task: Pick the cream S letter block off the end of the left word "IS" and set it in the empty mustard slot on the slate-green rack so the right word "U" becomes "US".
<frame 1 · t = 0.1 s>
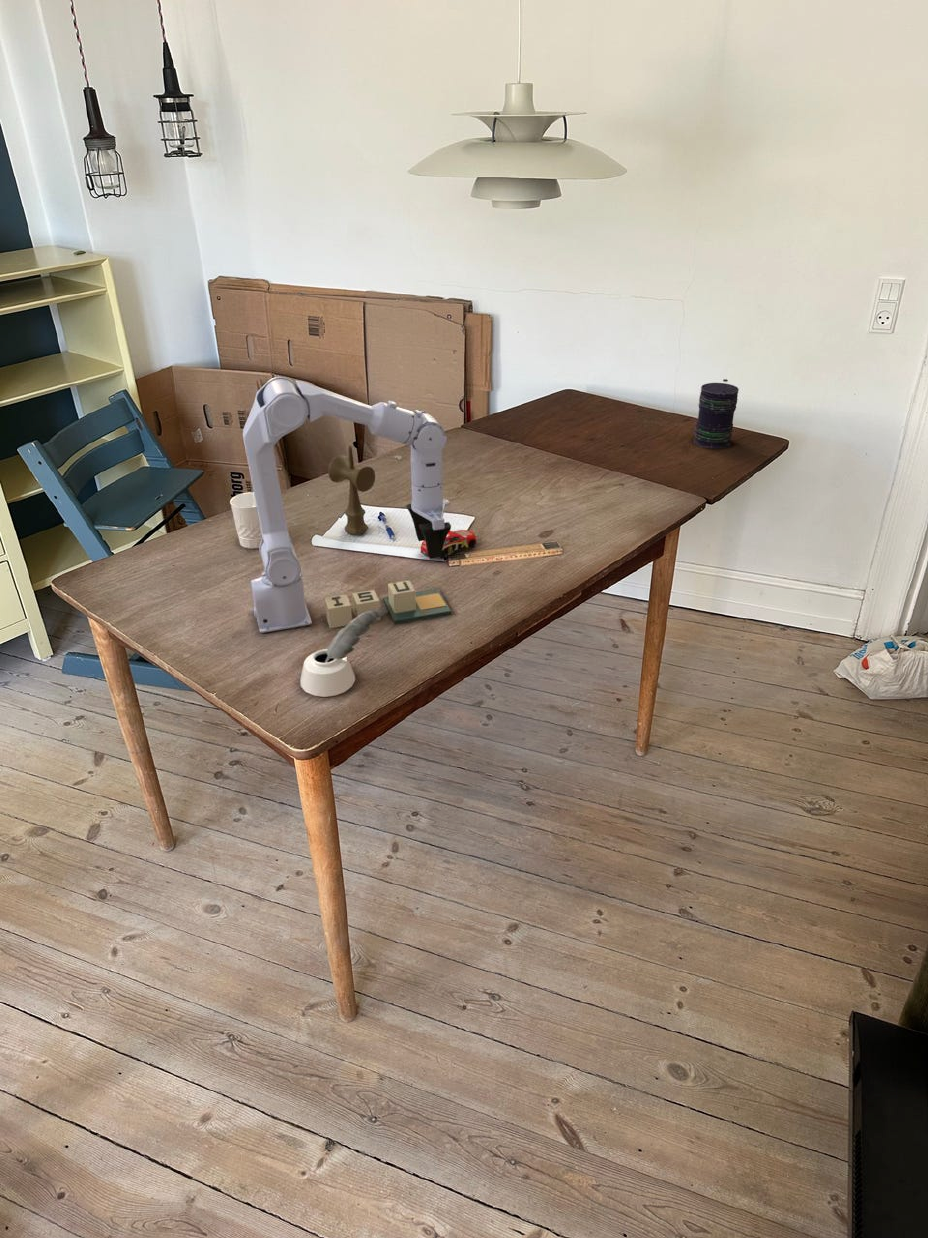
hand: (429, 548, 167), 10 cm above the table, tool pointing down, fingers open, 7 cm apart
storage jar: (711, 442, 242), on the table
inkwell: (348, 671, 151), on the table
S block: (367, 616, 166), on the table
word rack: (416, 607, 168), on the table
I block: (339, 620, 164), on the table
U block: (402, 606, 167), point 1 cm above the table, touching word rack
race car: (449, 550, 189), on the table
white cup: (255, 542, 192), on the table
kendama: (356, 532, 196), on the table
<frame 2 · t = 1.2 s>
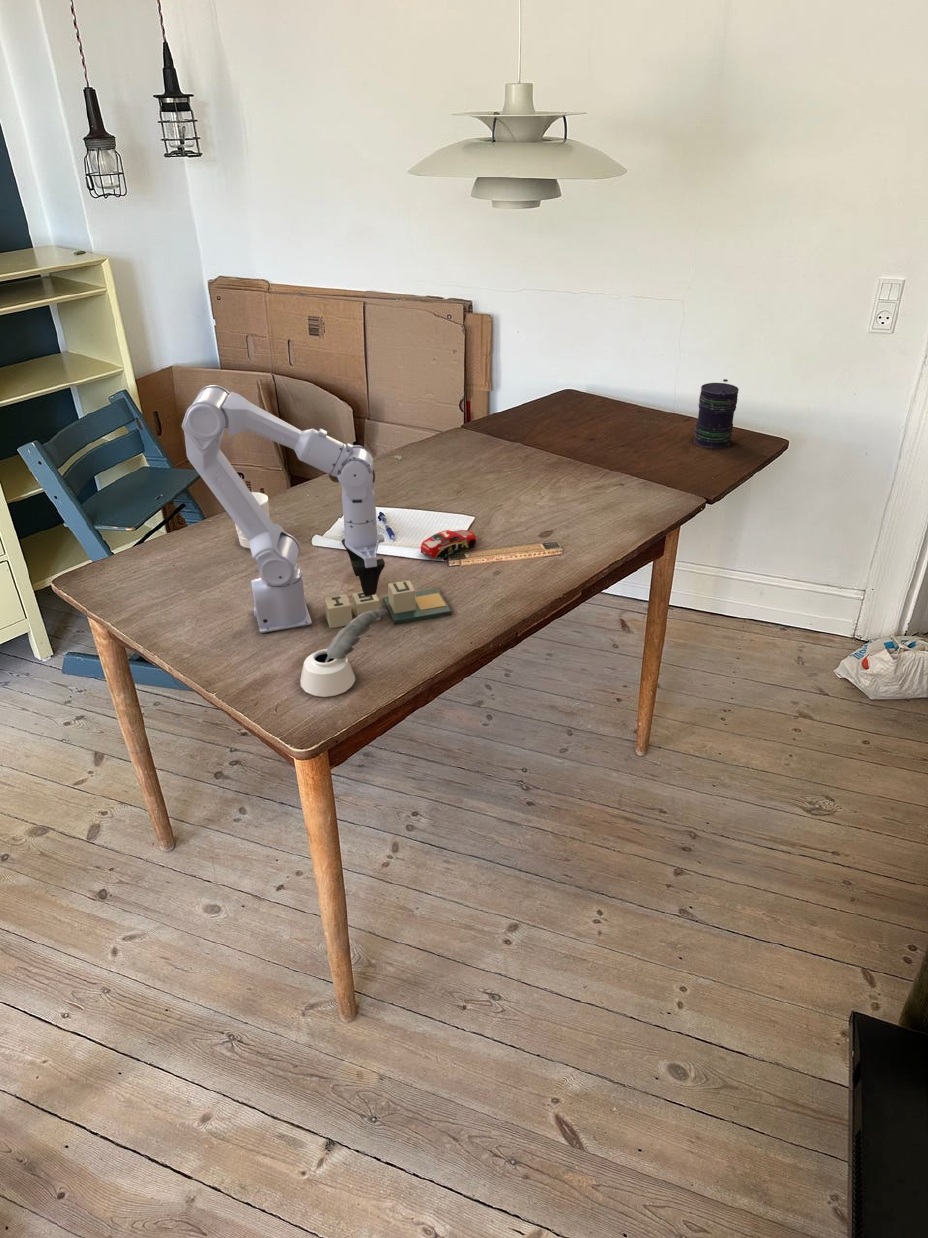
hand: (365, 584, 162), 7 cm above the table, tool pointing down, fingers open, 7 cm apart
nothing on the table moved.
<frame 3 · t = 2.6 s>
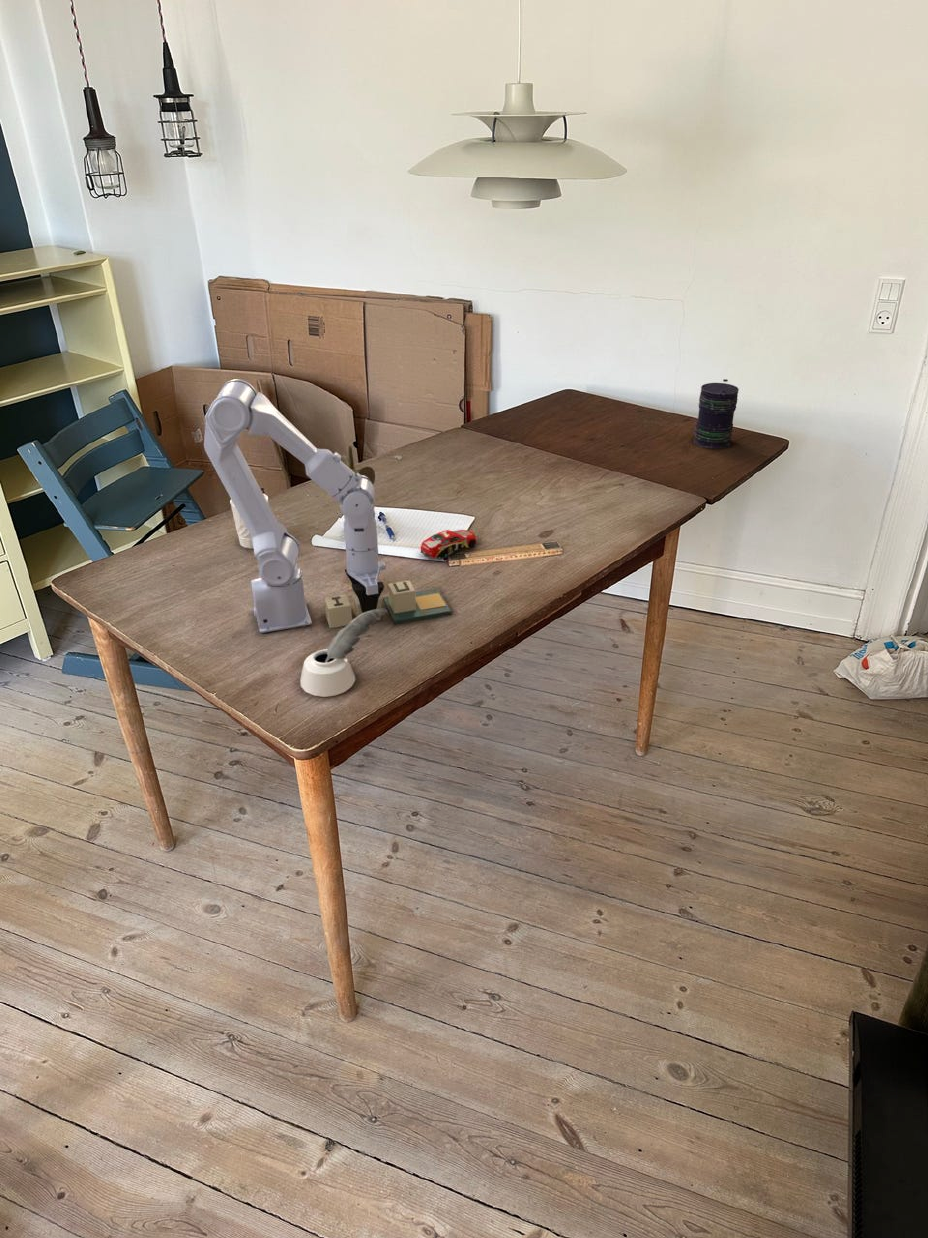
hand: (366, 609, 165), 1 cm above the table, tool pointing down, fingers closed on S block, 4 cm apart
S block: (367, 616, 166), on the table, touching gripper
everything else where it was.
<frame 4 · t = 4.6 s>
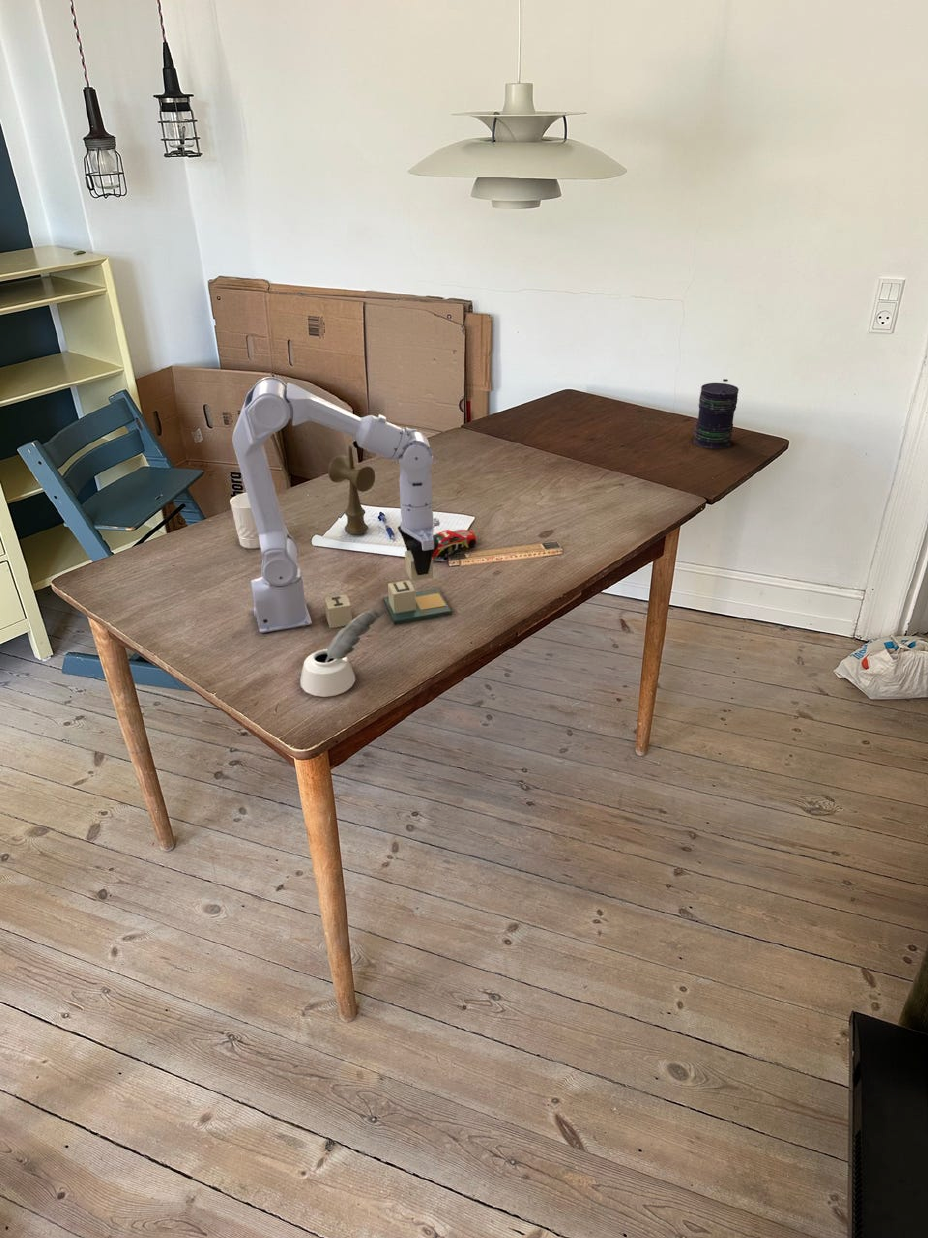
hand: (419, 568, 164), 8 cm above the table, tool pointing down, fingers closed on S block, 4 cm apart
S block: (419, 574, 165), point 7 cm above the table, touching gripper
everything else where it was.
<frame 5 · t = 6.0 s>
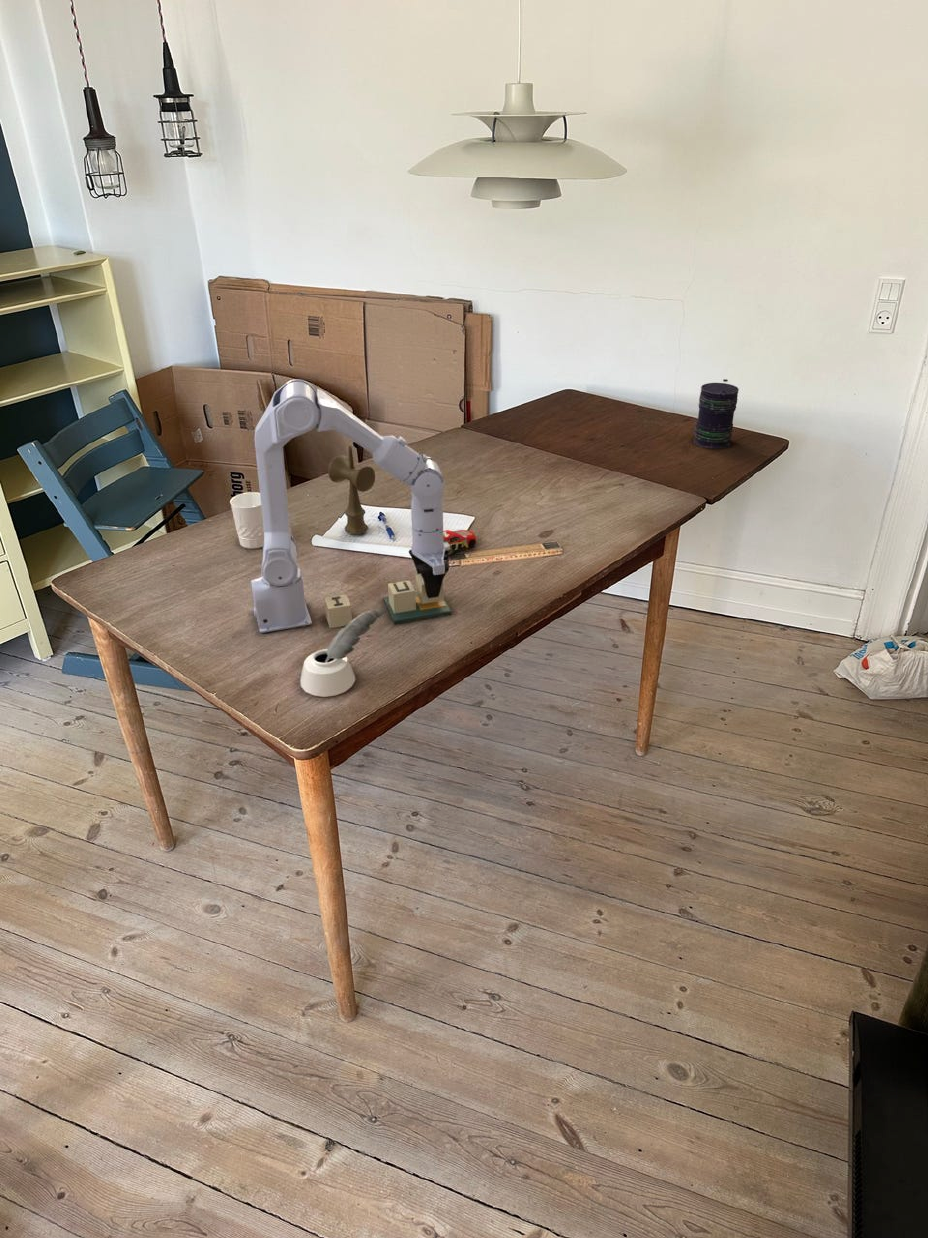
hand: (429, 590, 167), 3 cm above the table, tool pointing down, fingers closed on S block, 4 cm apart
S block: (429, 596, 168), point 2 cm above the table, touching gripper
everything else where it was.
when the fingers open (2 cm above the table, at t = 6.7 s): S block stays where it is, resting on word rack.
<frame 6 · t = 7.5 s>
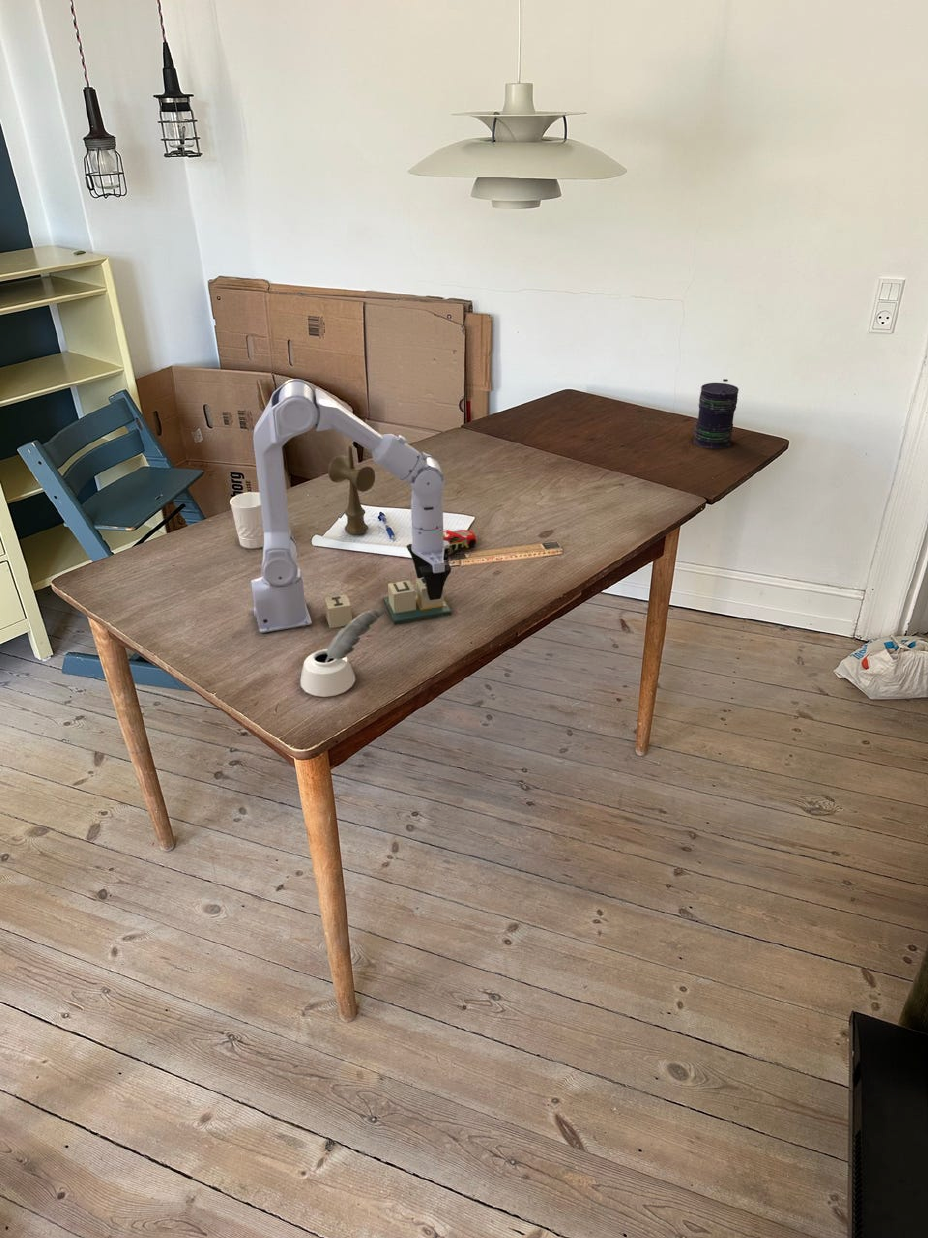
hand: (429, 588, 167), 4 cm above the table, tool pointing down, fingers open, 7 cm apart
S block: (429, 601, 168), point 1 cm above the table, touching word rack
everything else where it was.
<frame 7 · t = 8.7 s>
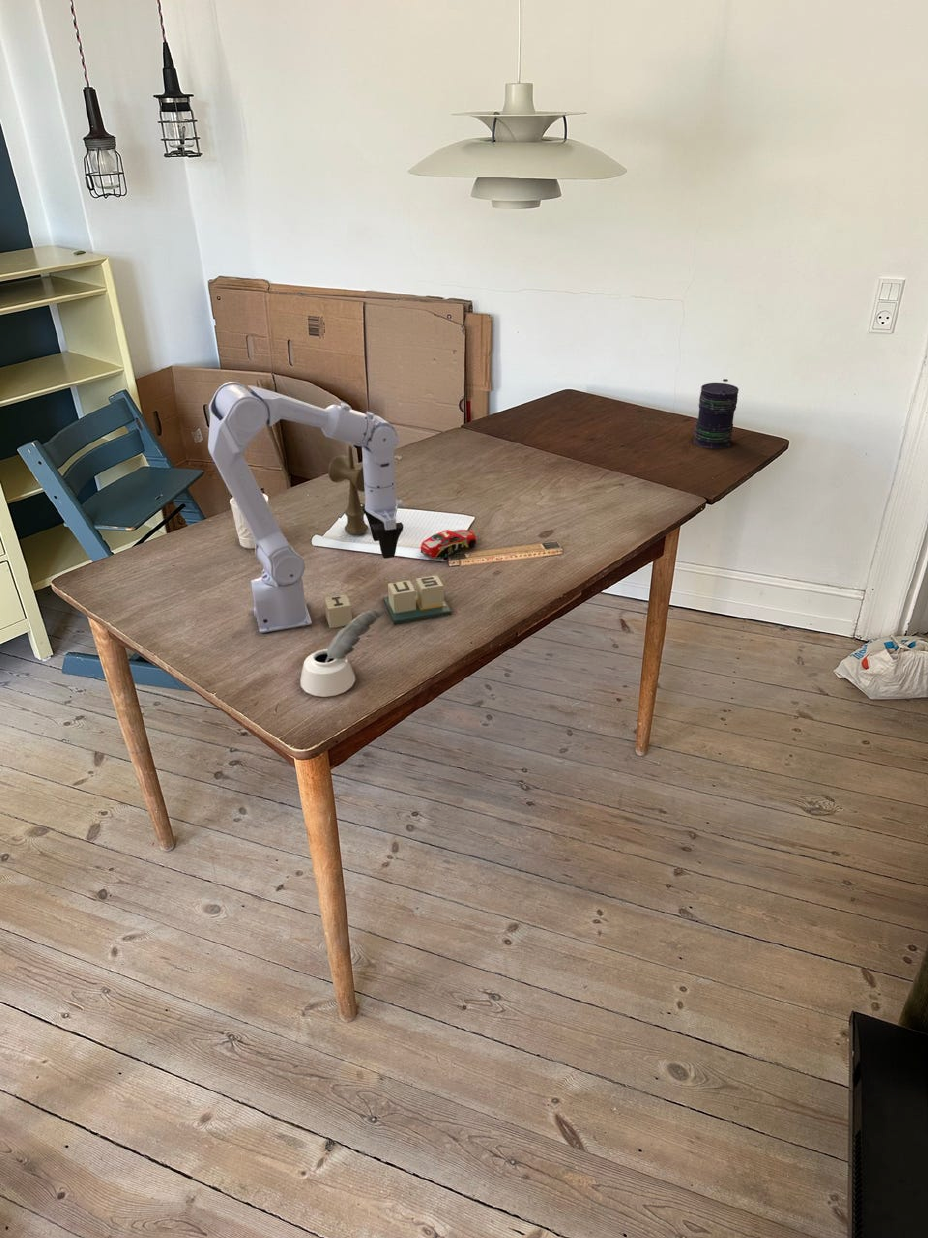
hand: (383, 548, 169), 9 cm above the table, tool pointing down, fingers open, 7 cm apart
nothing on the table moved.
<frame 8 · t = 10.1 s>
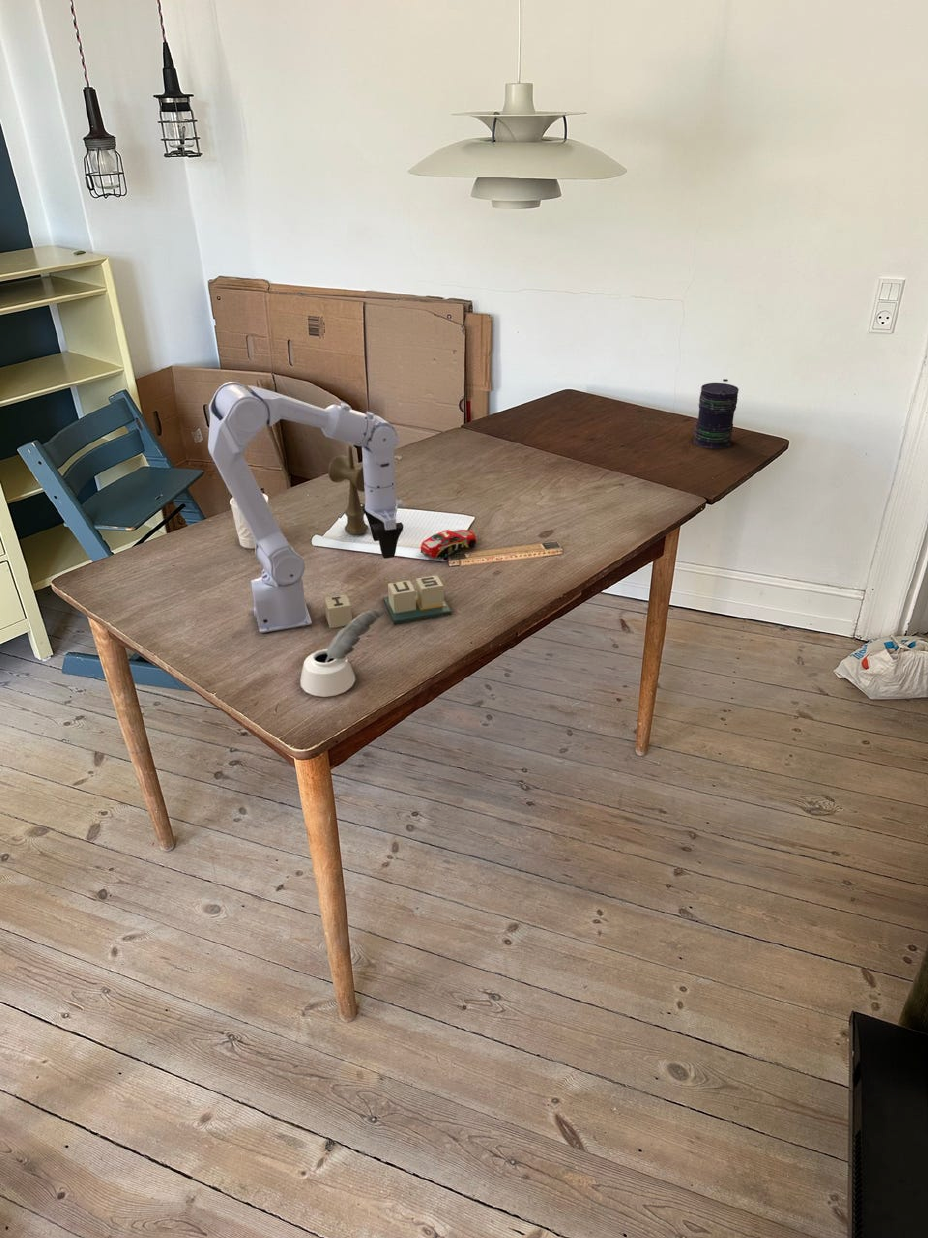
hand: (383, 548, 169), 9 cm above the table, tool pointing down, fingers open, 7 cm apart
nothing on the table moved.
at the end: S block 0.0 cm from the target spot on the word rack, point 0.9 cm above the word rack's base; S block tilted 0°; the gripper is holding nothing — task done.
